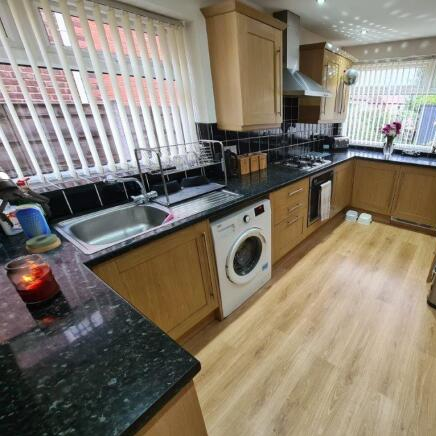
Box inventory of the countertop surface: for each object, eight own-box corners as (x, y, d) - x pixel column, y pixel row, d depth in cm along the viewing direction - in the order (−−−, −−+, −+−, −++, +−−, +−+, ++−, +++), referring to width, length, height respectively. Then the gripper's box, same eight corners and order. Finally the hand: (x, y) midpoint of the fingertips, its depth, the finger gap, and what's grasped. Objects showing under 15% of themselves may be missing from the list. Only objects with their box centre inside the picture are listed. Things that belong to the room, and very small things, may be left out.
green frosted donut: (20, 254, 104) (16, 246, 102) (41, 241, 114) (37, 233, 112) (49, 252, 105) (45, 244, 103) (67, 239, 115) (63, 232, 113)
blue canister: (26, 243, 112) (10, 211, 105) (29, 236, 118) (13, 205, 111) (51, 237, 117) (37, 206, 110) (52, 231, 123) (39, 201, 116)
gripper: (36, 182, 125) (63, 214, 126) (-38, 197, 105) (-6, 235, 105) (37, 173, 121) (65, 206, 122) (-40, 187, 101) (-7, 227, 101)
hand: (32, 220), depth 114 cm, fingers open, 13 cm apart
